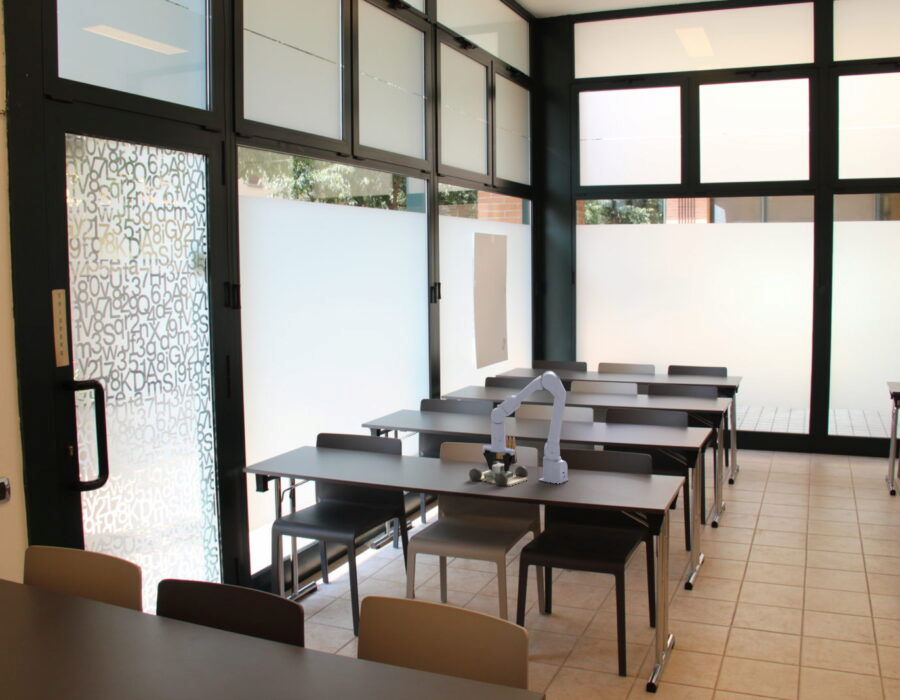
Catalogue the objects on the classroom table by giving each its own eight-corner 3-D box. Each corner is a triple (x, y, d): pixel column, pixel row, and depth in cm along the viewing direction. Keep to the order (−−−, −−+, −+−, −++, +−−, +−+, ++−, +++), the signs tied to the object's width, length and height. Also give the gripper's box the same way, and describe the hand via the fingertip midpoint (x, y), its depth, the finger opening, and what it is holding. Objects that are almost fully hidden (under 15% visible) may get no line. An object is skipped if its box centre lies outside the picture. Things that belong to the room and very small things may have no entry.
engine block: (506, 476, 348) (506, 464, 348) (500, 478, 344) (500, 466, 344) (498, 474, 351) (498, 462, 350) (492, 477, 347) (491, 465, 346)
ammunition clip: (516, 462, 376) (516, 435, 374) (515, 463, 374) (514, 436, 373) (495, 459, 381) (494, 433, 379) (493, 460, 379) (492, 434, 378)
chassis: (530, 479, 347) (530, 467, 346) (506, 487, 335) (506, 475, 334) (491, 471, 360) (490, 460, 359) (467, 479, 348) (467, 467, 347)
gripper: (518, 437, 344) (519, 470, 346) (488, 433, 353) (489, 465, 354) (509, 440, 339) (509, 474, 340) (479, 436, 347) (479, 469, 349)
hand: (498, 470), depth 347 cm, fingers open, 7 cm apart
